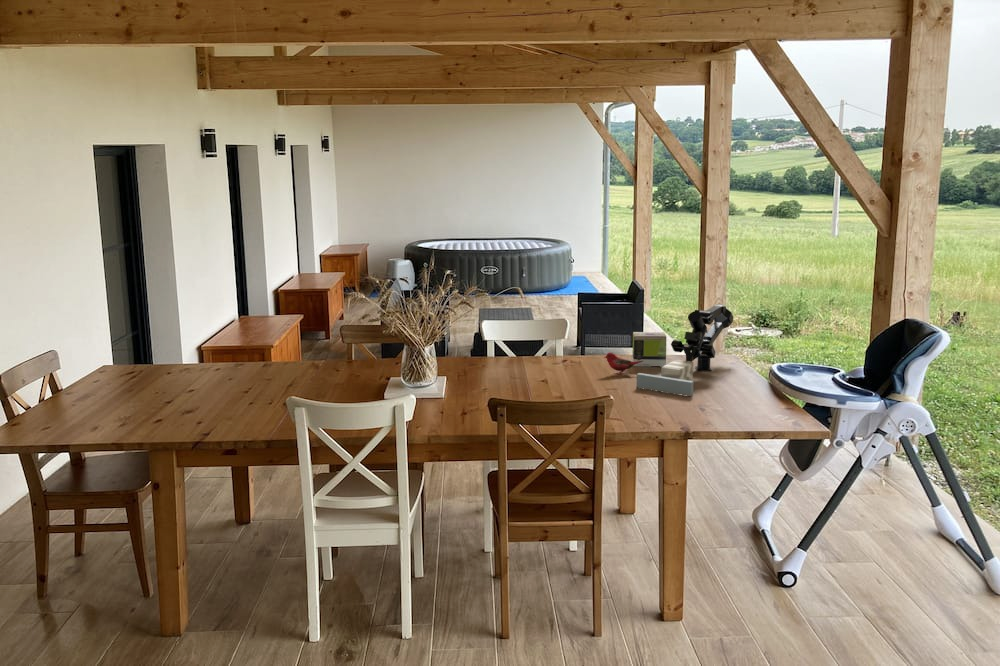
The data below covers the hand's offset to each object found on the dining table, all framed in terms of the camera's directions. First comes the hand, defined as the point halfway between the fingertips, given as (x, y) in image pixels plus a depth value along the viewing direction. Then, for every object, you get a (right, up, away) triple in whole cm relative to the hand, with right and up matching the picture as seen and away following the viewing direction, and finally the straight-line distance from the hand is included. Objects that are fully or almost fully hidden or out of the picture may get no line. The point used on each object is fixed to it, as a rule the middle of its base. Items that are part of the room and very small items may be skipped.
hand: (687, 364), depth 381 cm
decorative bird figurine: (-26, -5, +9) cm, 29 cm away
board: (-13, -11, -18) cm, 25 cm away
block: (-6, -9, -7) cm, 13 cm away
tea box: (-12, -1, +27) cm, 30 cm away
